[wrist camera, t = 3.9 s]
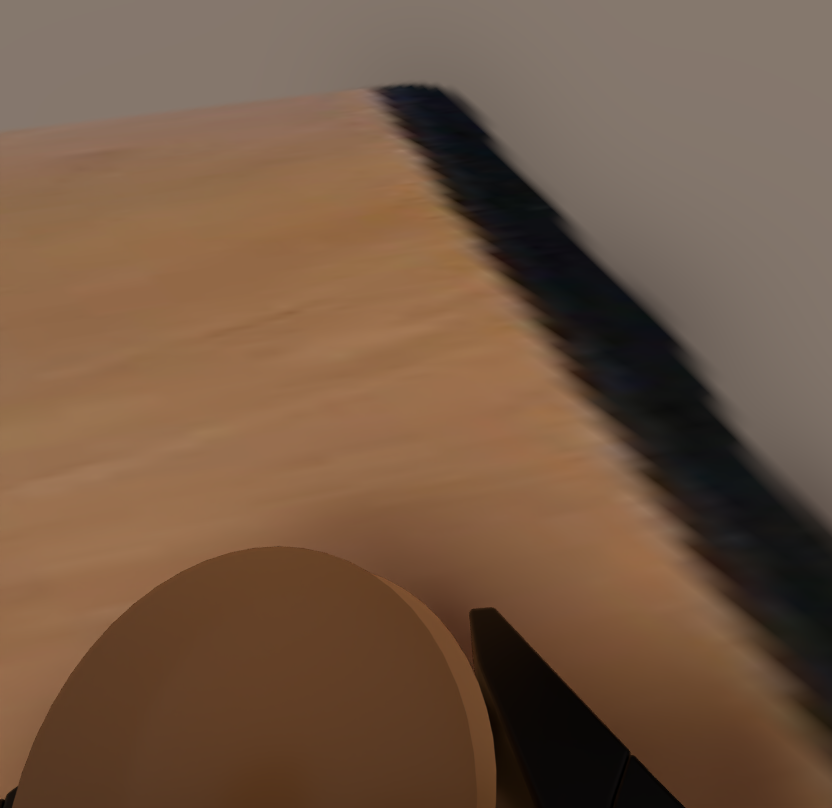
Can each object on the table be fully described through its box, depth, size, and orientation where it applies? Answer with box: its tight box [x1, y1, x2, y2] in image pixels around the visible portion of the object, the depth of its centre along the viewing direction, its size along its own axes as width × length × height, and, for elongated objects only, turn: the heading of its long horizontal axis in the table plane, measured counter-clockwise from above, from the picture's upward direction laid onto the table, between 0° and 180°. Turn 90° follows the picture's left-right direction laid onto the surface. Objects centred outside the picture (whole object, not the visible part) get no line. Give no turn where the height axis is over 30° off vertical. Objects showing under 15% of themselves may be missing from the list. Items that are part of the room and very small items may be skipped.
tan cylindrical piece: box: [12, 546, 496, 808], centre depth 8 cm, size 4×4×12 cm
